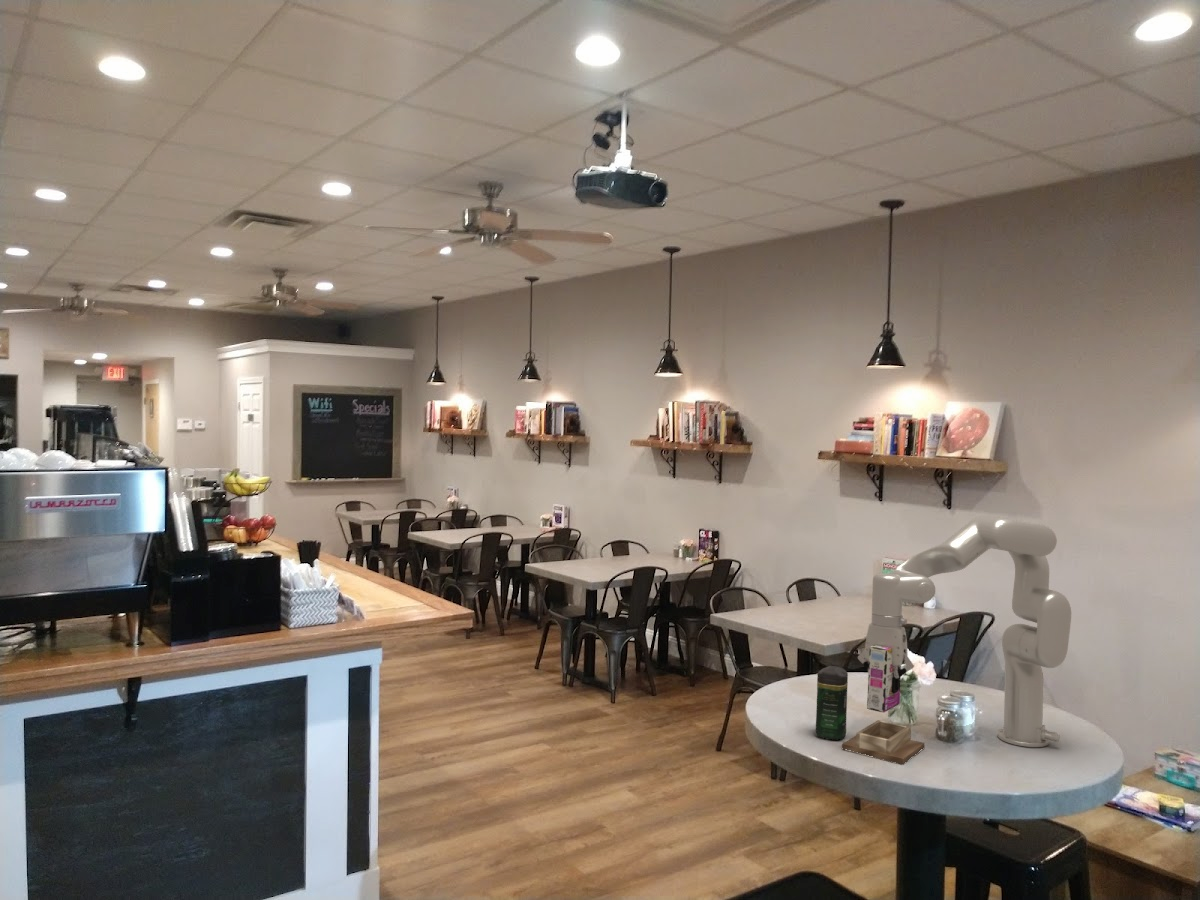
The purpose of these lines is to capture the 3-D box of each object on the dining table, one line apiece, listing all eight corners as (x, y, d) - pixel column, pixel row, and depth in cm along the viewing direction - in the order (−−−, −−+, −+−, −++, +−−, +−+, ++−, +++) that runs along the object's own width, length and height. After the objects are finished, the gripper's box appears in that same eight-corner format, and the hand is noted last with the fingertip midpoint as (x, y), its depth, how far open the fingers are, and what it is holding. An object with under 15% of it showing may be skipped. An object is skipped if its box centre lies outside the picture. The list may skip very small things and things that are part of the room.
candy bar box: (885, 713, 223) (887, 649, 223) (866, 709, 226) (868, 646, 226) (901, 704, 231) (902, 643, 231) (882, 700, 234) (884, 640, 234)
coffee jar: (842, 743, 233) (844, 673, 233) (812, 738, 236) (814, 670, 236) (848, 732, 241) (850, 666, 241) (820, 728, 245) (821, 662, 245)
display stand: (924, 748, 230) (924, 729, 230) (902, 764, 217) (903, 744, 217) (865, 735, 240) (866, 716, 240) (841, 749, 227) (842, 730, 227)
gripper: (924, 623, 226) (922, 693, 226) (860, 614, 237) (858, 681, 237) (914, 627, 220) (912, 699, 220) (849, 618, 231) (847, 686, 231)
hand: (884, 689), depth 229 cm, fingers closed on candy bar box, 5 cm apart
